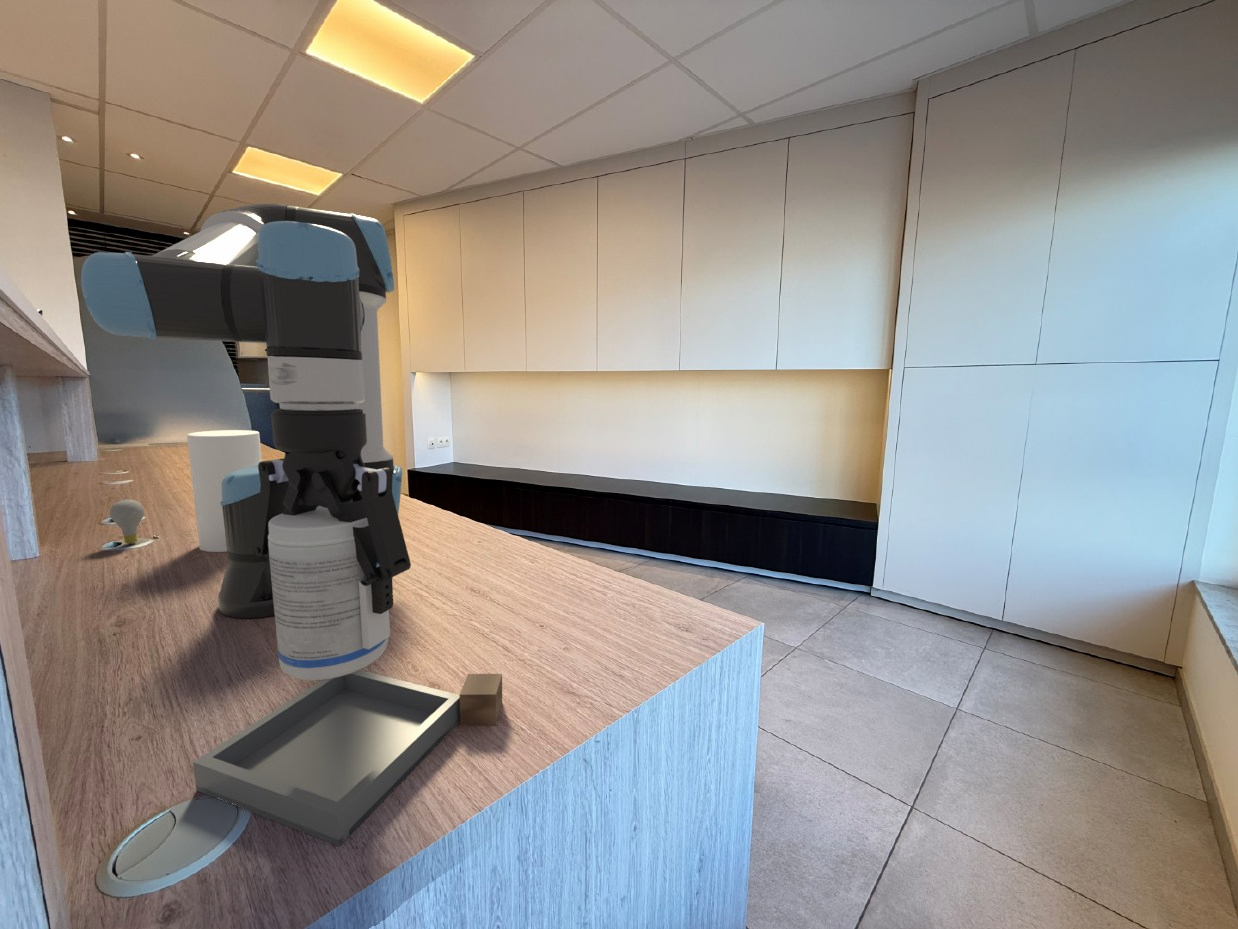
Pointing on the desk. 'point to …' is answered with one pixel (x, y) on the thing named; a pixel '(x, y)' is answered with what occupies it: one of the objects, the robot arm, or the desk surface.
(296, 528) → the supplement tub
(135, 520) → the light bulb
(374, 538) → the robot arm
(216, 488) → the cylinder
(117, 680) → the desk surface
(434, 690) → the tray
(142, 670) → the desk surface
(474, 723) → the walnut block
